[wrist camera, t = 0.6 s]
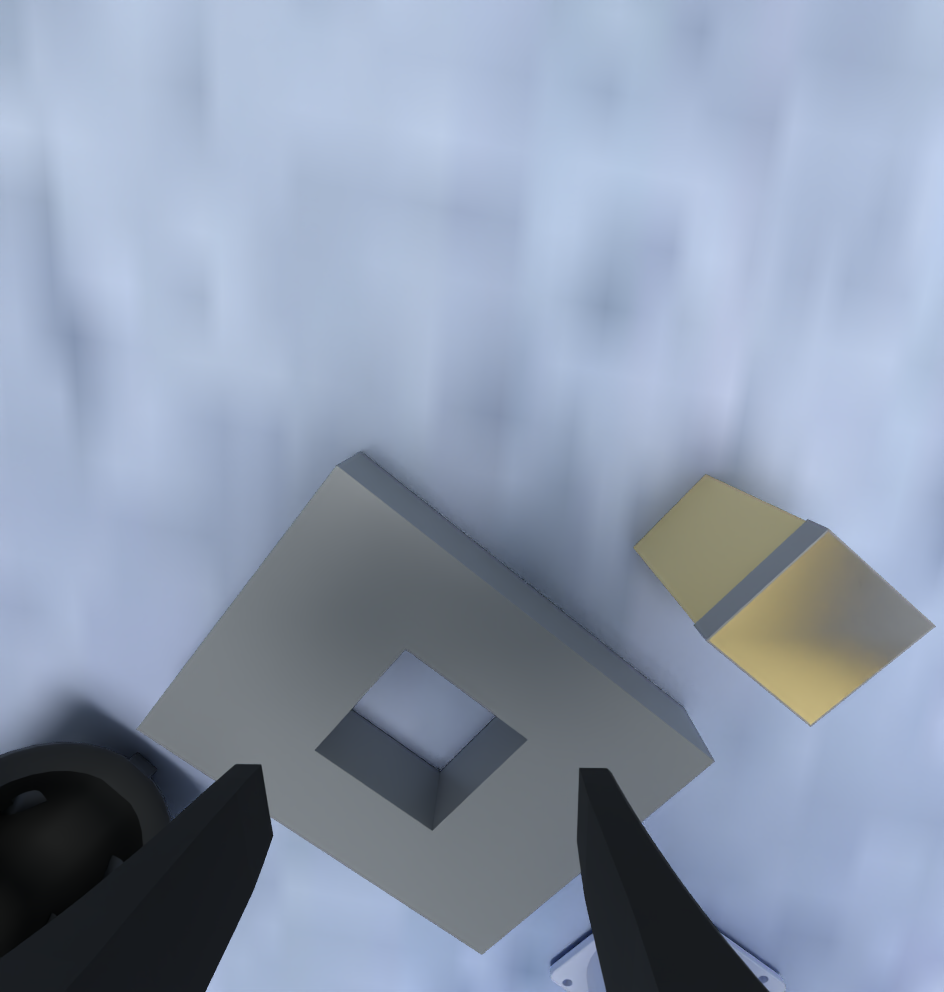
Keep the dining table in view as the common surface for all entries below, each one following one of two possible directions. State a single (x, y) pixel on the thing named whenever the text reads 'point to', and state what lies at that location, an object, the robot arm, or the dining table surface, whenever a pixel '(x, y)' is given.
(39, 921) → the muzzle brake
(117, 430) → the dining table surface
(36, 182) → the dining table surface
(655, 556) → the plug
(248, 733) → the socket plate
